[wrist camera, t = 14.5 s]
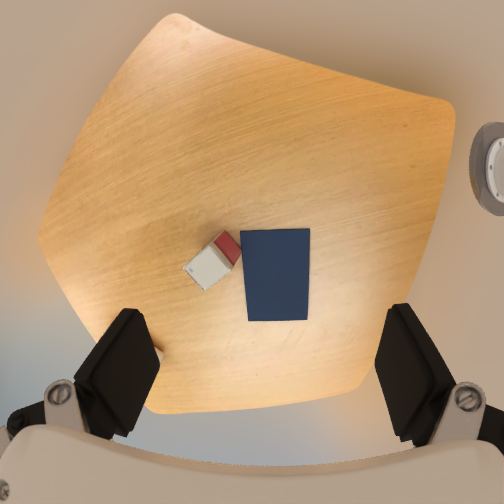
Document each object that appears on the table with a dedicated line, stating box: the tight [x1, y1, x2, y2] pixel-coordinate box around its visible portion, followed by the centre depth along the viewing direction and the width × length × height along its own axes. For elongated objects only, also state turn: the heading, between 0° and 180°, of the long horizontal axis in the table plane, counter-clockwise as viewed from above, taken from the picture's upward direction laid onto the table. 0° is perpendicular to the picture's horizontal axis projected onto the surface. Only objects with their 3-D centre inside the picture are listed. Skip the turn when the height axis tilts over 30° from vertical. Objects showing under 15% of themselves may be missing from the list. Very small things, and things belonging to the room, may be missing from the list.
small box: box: [183, 230, 242, 291], centre depth 38 cm, size 5×4×8 cm
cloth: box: [240, 229, 310, 321], centre depth 43 cm, size 10×16×1 cm, turn 4°
